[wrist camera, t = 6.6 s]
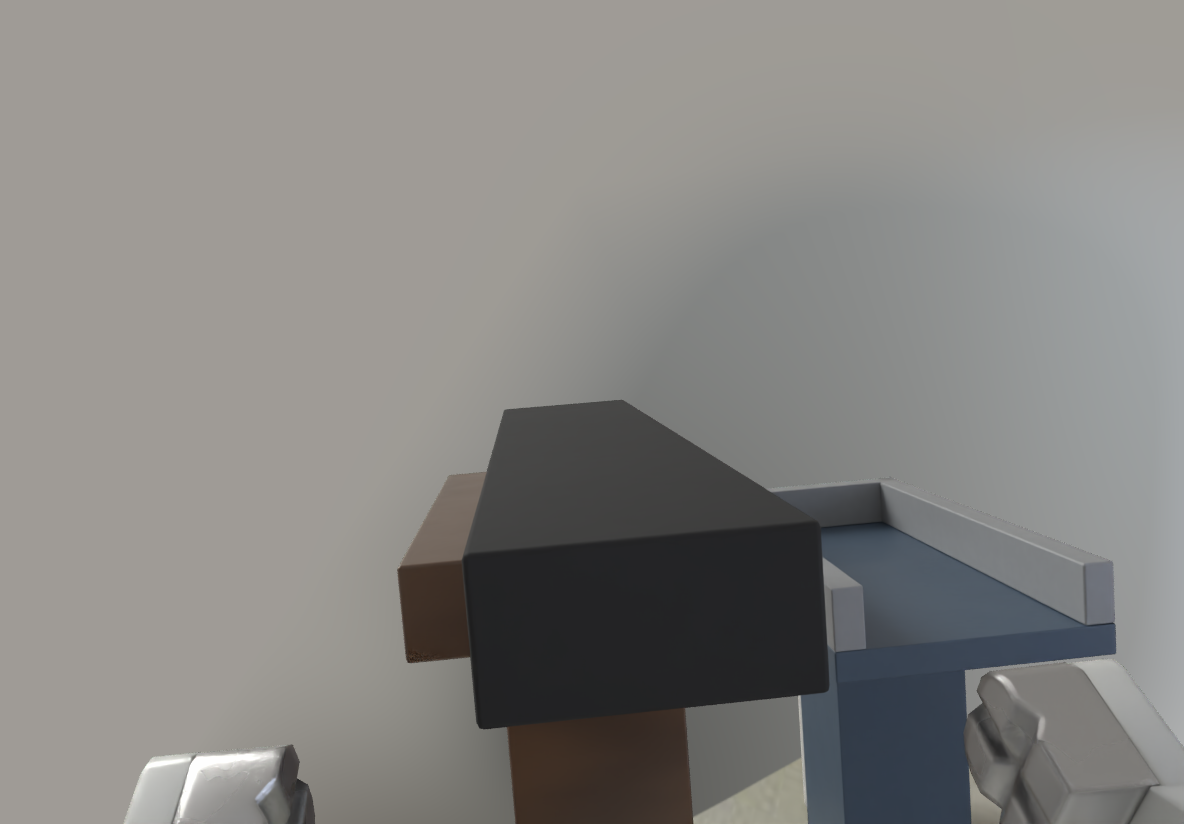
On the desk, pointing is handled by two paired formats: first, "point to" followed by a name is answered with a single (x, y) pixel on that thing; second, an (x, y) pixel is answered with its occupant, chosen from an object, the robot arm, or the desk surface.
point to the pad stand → (555, 749)
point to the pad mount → (927, 640)
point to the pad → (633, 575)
